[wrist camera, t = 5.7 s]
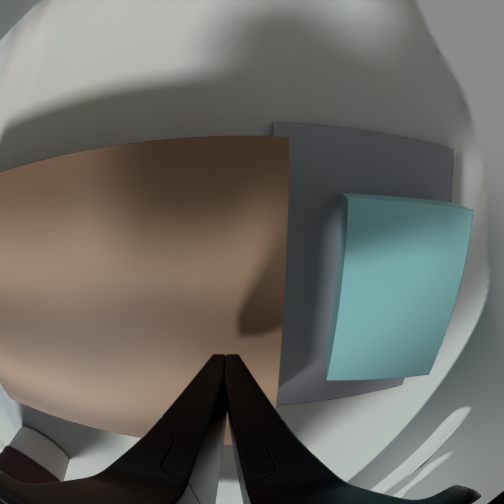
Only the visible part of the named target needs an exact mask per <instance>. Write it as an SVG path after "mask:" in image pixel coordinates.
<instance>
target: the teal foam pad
mask: <svg viewBox="0 0 504 504" xmlns="http://www.w3.org/2000/svg"><path fill="white" fill-rule="evenodd" d="M472 217H473V210H472V209H469V208H467V207H464V206H461V205H458V204H456V203H453V202H445V201H436V200H427V199H418V198H408V197H396V196H384V195H370V194H354V193H341V202H340V224H339V240H338V254H337V266H336V277H335V287H334V296H333V304H332V312H331V320H330V327H329V334H328V341H327V348H326V354H325V363H326V378H327V380H371V379H389V378H401V377H412V376H421V375H429V373H430V371H431V369H432V366H433V364H434V362H435V359H436V357H437V354H438V352H439V349H440V347H441V344H442V341H443V338H444V336H445V333H446V330H447V327H448V324H449V321H450V318H451V315H452V312H453V308H454V305H455V301H456V298H457V294H458V291H459V287H460V283H461V279H462V274H463V270H464V265H465V260H466V255H467V250H468V244H469V238H470V232H471V225H472Z"/></svg>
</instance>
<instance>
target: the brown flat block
mask: <svg viewBox="0 0 504 504" xmlns="http://www.w3.org/2000/svg"><path fill="white" fill-rule="evenodd" d="M288 189H289V137H281V136H212V137H192V138H177V139H165V140H155V141H146V142H137V143H129V144H122V145H115V146H109V147H103V148H97V149H91V150H86V151H81V152H76V153H71V154H66V155H62V156H57V157H53V158H49V159H45V160H41V161H37V162H33V163H30V164H26V165H23V166H19V167H16V168H13V169H9V170H6V171H3V172H0V383H1V384H2V386H3V388H4V389H5V391H6V393H7V394H8V396H9V397H10V398H11V399H13V400H15V401H17V402H20V403H22V404H24V405H27V406H29V407H32V408H34V409H37V410H39V411H42V412H44V413H47V414H50V415H53V416H56V417H59V418H62V419H65V420H68V421H71V422H75V423H78V424H81V425H85V426H89V427H93V428H97V429H101V430H105V431H109V432H114V433H119V434H124V435H129V436H134V437H140V438H143V437H144V436H145V435H146V434H147V432H148V431H149V430H150V429H151V428H152V427H153V426H154V425H155V424H156V423H157V421H158V420H159V419H160V418H162V416H163V414H164V413H165V412H166V411H167V410H168V409H169V407H170V406H171V405H172V404H173V403H174V401H175V400H176V399H177V398H178V397H179V395H180V394H181V393H182V392H183V390H184V389H185V388H186V387H187V386H188V384H189V383H190V382H191V381H192V379H193V378H194V377H195V376H196V375H197V373H198V372H199V371H200V370H201V368H202V367H203V366H204V365H205V363H206V362H207V361H208V360H209V358H210V357H211V356H212V355H213V354H225V355H227V354H239V356H240V357H241V359H242V360H243V362H244V363H245V365H246V366H247V368H248V369H249V371H250V372H251V374H252V375H253V377H254V379H255V380H256V382H257V383H258V384H259V386H260V387H261V389H262V390H263V392H264V393H265V395H266V396H267V398H268V399H269V401H270V402H271V404H272V405H273V406H274V408H275V409H276V401H277V390H278V379H279V367H280V354H281V341H282V326H283V311H284V294H285V275H286V253H287V226H288ZM223 445H232V440H231V434H230V428H229V421H228V413H227V422H226V430H225V437H224V444H223Z"/></svg>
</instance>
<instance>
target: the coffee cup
mask: <svg viewBox="0 0 504 504" xmlns="http://www.w3.org/2000/svg"><path fill="white" fill-rule="evenodd" d="M68 463H69V459H68V457H67V455H66V454H65V452H64V451H63V450H62V449H61V448H59V447H58V446H57V445H56V444H55V443H54V442H52V441H51V440H50V439H48V438H47V437H45V436H44V435H42V434H41V433H39V432H37V431H35V430H33V429H31V428H28V427H22V428H20V430H19V431H18V433H17V434H16V435H15V437H14V438H13V440H12V441H11V443H10V444H9V446H6V447H5V448H4V450H3V451H2V453H1V454H0V471H1V472H3V473H4V474H6V475H7V476H9V477H11V478H12V479H14V480H16V481H19V482H22V483H28V484H43V483H53V482H62V481H63V480H64V477H65V473H66V470H67V467H68ZM0 504H7V503H5V502H4V501H3V500H1V499H0Z"/></svg>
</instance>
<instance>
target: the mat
mask: <svg viewBox="0 0 504 504" xmlns="http://www.w3.org/2000/svg"><path fill="white" fill-rule="evenodd" d="M273 136H281V137H289V189H288V226H287V253H286V275H285V294H284V311H283V326H282V341H281V354H280V367H279V379H278V390H277V401H276V405H286V404H297V403H307V402H315V401H323V400H330V399H337V398H343V397H349V396H355V395H360V394H365V393H370V392H375V391H379V390H384V389H388V388H392V387H396V386H400V385H402V384H403V381H404V379H405V377H401V378H389V379H371V380H327V378H326V363H325V354H326V348H327V341H328V334H329V327H330V320H331V312H332V304H333V296H334V287H335V277H336V266H337V254H338V240H339V224H340V202H341V193H354V194H370V195H384V196H396V197H408V198H418V199H427V200H436V201H445V202H451V190H452V175H453V149H450V148H446V147H443V146H439V145H435V144H431V143H427V142H423V141H418V140H414V139H409V138H404V137H399V136H394V135H389V134H383V133H377V132H371V131H365V130H358V129H351V128H343V127H334V126H324V125H313V124H299V123H281V122H273Z"/></svg>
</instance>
